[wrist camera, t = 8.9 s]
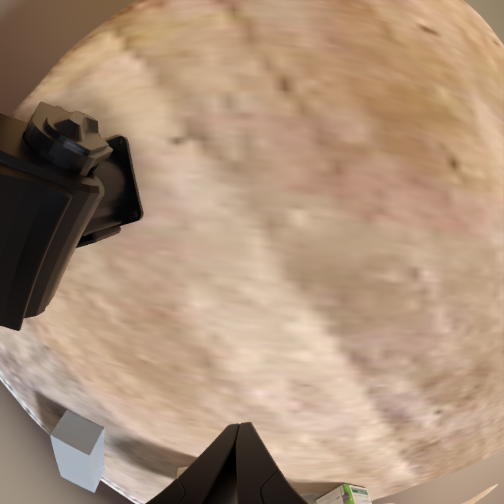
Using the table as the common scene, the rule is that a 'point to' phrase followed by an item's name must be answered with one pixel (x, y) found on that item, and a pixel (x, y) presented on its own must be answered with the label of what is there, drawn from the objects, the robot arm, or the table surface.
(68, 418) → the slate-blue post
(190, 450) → the table surface
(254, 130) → the table surface
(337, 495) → the syrup box
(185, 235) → the table surface
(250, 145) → the table surface
